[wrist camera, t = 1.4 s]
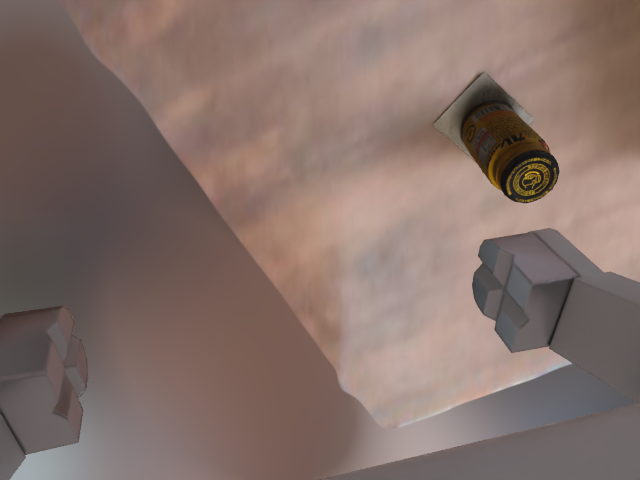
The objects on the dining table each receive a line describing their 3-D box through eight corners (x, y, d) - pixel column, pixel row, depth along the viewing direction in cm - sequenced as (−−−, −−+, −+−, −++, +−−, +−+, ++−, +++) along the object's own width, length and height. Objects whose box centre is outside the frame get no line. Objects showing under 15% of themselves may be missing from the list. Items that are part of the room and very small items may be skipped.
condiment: (483, 166, 59) (524, 224, 49) (432, 124, 56) (466, 177, 46) (533, 118, 56) (588, 169, 47) (483, 70, 53) (531, 114, 43)
